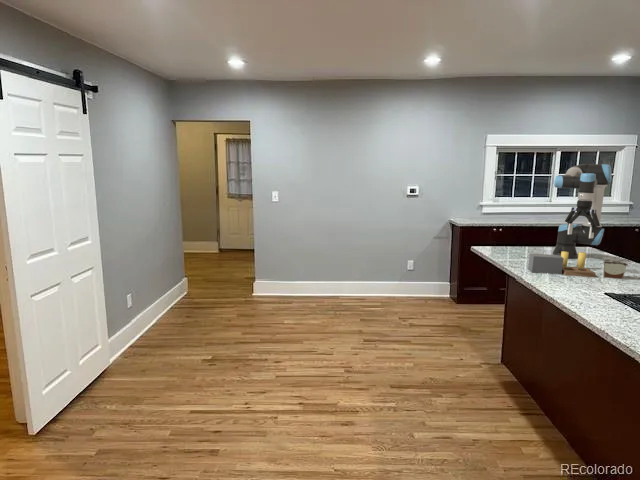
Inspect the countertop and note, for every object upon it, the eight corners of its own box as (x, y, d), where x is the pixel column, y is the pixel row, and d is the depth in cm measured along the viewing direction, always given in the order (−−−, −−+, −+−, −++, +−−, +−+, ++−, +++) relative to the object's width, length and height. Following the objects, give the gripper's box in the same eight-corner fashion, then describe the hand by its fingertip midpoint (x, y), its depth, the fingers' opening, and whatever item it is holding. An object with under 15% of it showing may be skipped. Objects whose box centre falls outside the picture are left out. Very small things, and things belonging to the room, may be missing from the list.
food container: (622, 276, 248) (624, 260, 246) (625, 279, 242) (628, 262, 240) (597, 274, 252) (600, 258, 250) (600, 277, 246) (603, 260, 244)
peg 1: (558, 266, 270) (560, 251, 269) (565, 266, 270) (567, 251, 268) (560, 268, 267) (562, 252, 265) (567, 268, 266) (569, 252, 264)
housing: (527, 269, 262) (529, 253, 260) (556, 270, 259) (558, 254, 257) (531, 272, 254) (533, 256, 252) (561, 274, 251) (563, 257, 249)
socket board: (557, 270, 261) (558, 266, 260) (586, 272, 258) (586, 268, 257) (565, 275, 249) (565, 271, 249) (594, 277, 246) (595, 273, 246)
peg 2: (575, 267, 269) (577, 252, 267) (582, 267, 268) (584, 252, 266) (578, 269, 265) (580, 253, 263) (585, 269, 264) (587, 253, 262)
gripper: (561, 198, 256) (556, 233, 260) (601, 202, 233) (595, 240, 237) (570, 198, 259) (565, 232, 262) (610, 202, 236) (605, 239, 239)
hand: (580, 236), depth 250 cm, fingers open, 13 cm apart
